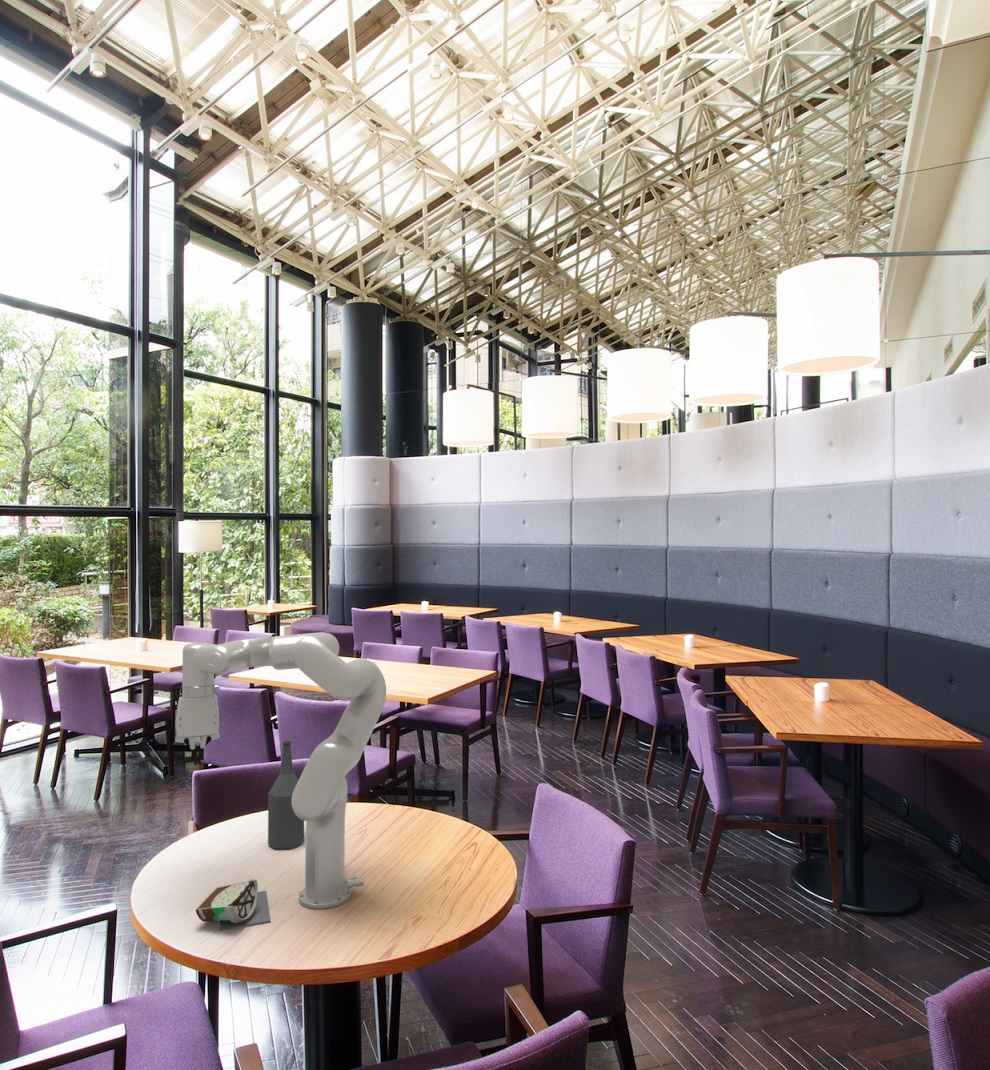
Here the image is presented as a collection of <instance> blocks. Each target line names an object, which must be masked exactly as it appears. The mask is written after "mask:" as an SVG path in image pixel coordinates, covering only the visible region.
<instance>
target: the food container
mask: <svg viewBox="0 0 990 1070" xmlns="http://www.w3.org/2000/svg"><path fill="white" fill-rule="evenodd" d="M258 889H259V888H258V880H257V879H253V878H252V879H249V880H247V881H243V882H238V883H232V884H231V883H230V884H227V885H222V886H217V887H216V888H215V889H213V890H212V892H211V893H210V894H209V895H208V896H207V897H206V898H204V900H203V901H202V902H201V903H200V904H199V905H198V906H197V907H196V908H195V913H196V915H197V917H198V919H199V920H201V921H202V922H220V921H228V920H230V921H231V922H233V923H239V922H241V921H244V920H246V919H247V918H249V917H250V916H251V914H252V913H253V911H254V909H255V906H256V902H257V896H258V892H259V890H258Z"/></svg>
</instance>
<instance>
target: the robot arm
mask: <svg viewBox="0 0 990 1070" xmlns="http://www.w3.org/2000/svg"><path fill="white" fill-rule="evenodd" d="M339 653H340V644H339V641H338V639H337V637H336V636H334V635H333V634H331V633H329V632H323V631H321V632H318V631H317V632H307V633H298V634H289V635H276V636H271V637H260V638H259V637H258V638H257V637H256V638H248V639H236V640H232V641H228V642H224V643H220V644H214V645H213V644H212V643H209V642H191V643H188V644H185V645H184V646H183V647H182V669H181V670H182V676H181V677H182V679H181V680H182V681H181V682H182V687H181V688H182V691H181V692H182V693H181V696H179V697H178V702H177V709H176V721H175V722H176V723H175V725H176V728H175V729H176V730H175V731H176V734H175V738H174V741H175V743H180V744H184V745H186V746H187V747H189V749H190V750H191V753H190V755H191V756H190V757H191V758H190V759H191V762H194V763H193V765H194V766H196V765H202V761H204V760H205V748H206V746H207V745H208V744H209V743H210V742H211V741H215V740H218V739H220V738H221V735H220V734H221V733H220V731H219V729H220V713H219V711H220V710H219V699H218V695H217V694H215V693H217V692H220V689H221V686H220V685H216V684H215V683H214V682H215V675H224V674H225V675H226V674H229V673H232V672H235V671H237V670H241V669H246V668H247V669H248V668H255V667H272V668H273V669H274V670H277V671H283V670H293V669H294V670H295V669H298V670H300V672H302V674H304V675H306V677H308V678H309V679H310V680H311V681H312V682H313V683H315V684H316V685H317V686H319V687H320V688H321V689H322V690H324V691H325V692H326V693H327V694H329V695H330V696H331V697H333V698H334V699H336V700H340V701H343V702H347V701H350V702H349V703H348V705H347V706H346V708H345V709H344V711H343V713H342V715H341V718H340V720H339V722H338V724H337V726H336V727H335V730H334V731H333V733H332V734H331V735H330V736H328V737H327V738H326V739H324V740H323V741H322V742H320V743H319V744H318V745H317V746H316V747H315V748H314V750H313V752H312V753H311V755H310V756H309V758H308V760H307V762H306V765H305V767H304V768H303V771H302V772H301V775H300V777H299V779H298V783H297V785H296V787H295V789H294V791H293V794H292V808H293V811H294V813H295V814H296V816H297V817H298V818H300V819H301V820H304V822H305V856H304V858H305V864H304V866H305V868H304V869H305V871H304V872H305V873H304V875H305V876H304V877H305V883H304V885H305V887H303V888H302V889H301V891H299V893H298V902H299V903H300V904H301V905H302V906H304V907H305V908H309V909H316V910H317V909H319V910H320V909H329V908H334V907H336V906H339V905H342V904H344V903H345V902H347V901H348V900H349V898H350V897H351V895H352V894H351V893H352V892H351V891H352V888H355V887H356V888H357V887H363V886H364V884H365V881H364V877H358V876H357V875H351V876H348V875H346V873H345V847H346V846H345V844H346V843H345V834H346V833H345V832H346V831H345V830H346V828H345V827H346V809H347V801H348V800H347V799H348V791H349V790H348V781H347V778H346V775H347V774H348V773H349V772H350V771H351V770H352V769H354V768H355V767H356V766H357V764H358V763H359V761H360V760H361V757H362V755H363V753H364V750H365V749H366V746H367V744H368V742H369V740H370V738H371V736H372V734H373V731H374V729H375V727H376V724H377V723H378V721H379V718H380V716H381V714H382V711H383V710H384V706H385V703H386V699H387V698H386V697H387V684H386V683H387V682H386V680H385V677H384V674H383V672H382V671H381V669H380V668H379V666H377V665H376V664H375V663H374V662H373V661H371V660H370V659H366V658H365V659H364V658H360V659H357V658H356V659H354V660H351V661H348V662H346V661H345V660H343V659H342V658H340V657H339ZM195 738H200V741H199V742H200V743H199V744H198V746H197V744H196V740H195Z"/></svg>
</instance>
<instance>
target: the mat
mask: <svg viewBox="0 0 990 1070" xmlns="http://www.w3.org/2000/svg"><path fill="white" fill-rule="evenodd" d="M268 901H269V900H268V895H267V890H263V891H262V890H261V891H258V896H257V902H256V906H255V909H254V911H253V913H252V914H251V916H250V917H249V918H247V919H246V920H244V921H241V922H239V923H233V922H231V921H230V920H228V921H219V932H223V931H231V930H235V929H240V928H246V927H251V926H258V925H259V926H260V925H264V924H269V923H271V915H270V909H269V908H270V907H269V902H268Z"/></svg>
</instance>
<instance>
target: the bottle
mask: <svg viewBox="0 0 990 1070" xmlns="http://www.w3.org/2000/svg"><path fill="white" fill-rule="evenodd" d="M291 743H292V741H291V740H283V742H282V743H281V744H282V753H281V759H280V760H281V761H280V770H279V774H278V776H277V778H276V779H275V781H274V783H273V785H272V787H271V788H270V790H269V792H268V793H267V795H268V796H267V800H268V801H267V809H268V811H267V812H268V815H267V817H268V819H267V820H268V821H267V834H268V835H267V844H268V846H269V847H270V848H272V849H273V850H276V851H277V850H278V851H282V850H283V851H284V850H291V849H295V848H297V846H298V847H299V845H300V846H301V845H302V843H303V841H304V839H305V821H304V820H301V819H300V818H298V817H297V816H296V814H295V813H294V811H293V808H292V794H293V791H294V789H295V787H296V785H297V783H298V780H299V779H298V777H297V775H296V773H294V767H293V759H292V757H293V756H292V747H291Z"/></svg>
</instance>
